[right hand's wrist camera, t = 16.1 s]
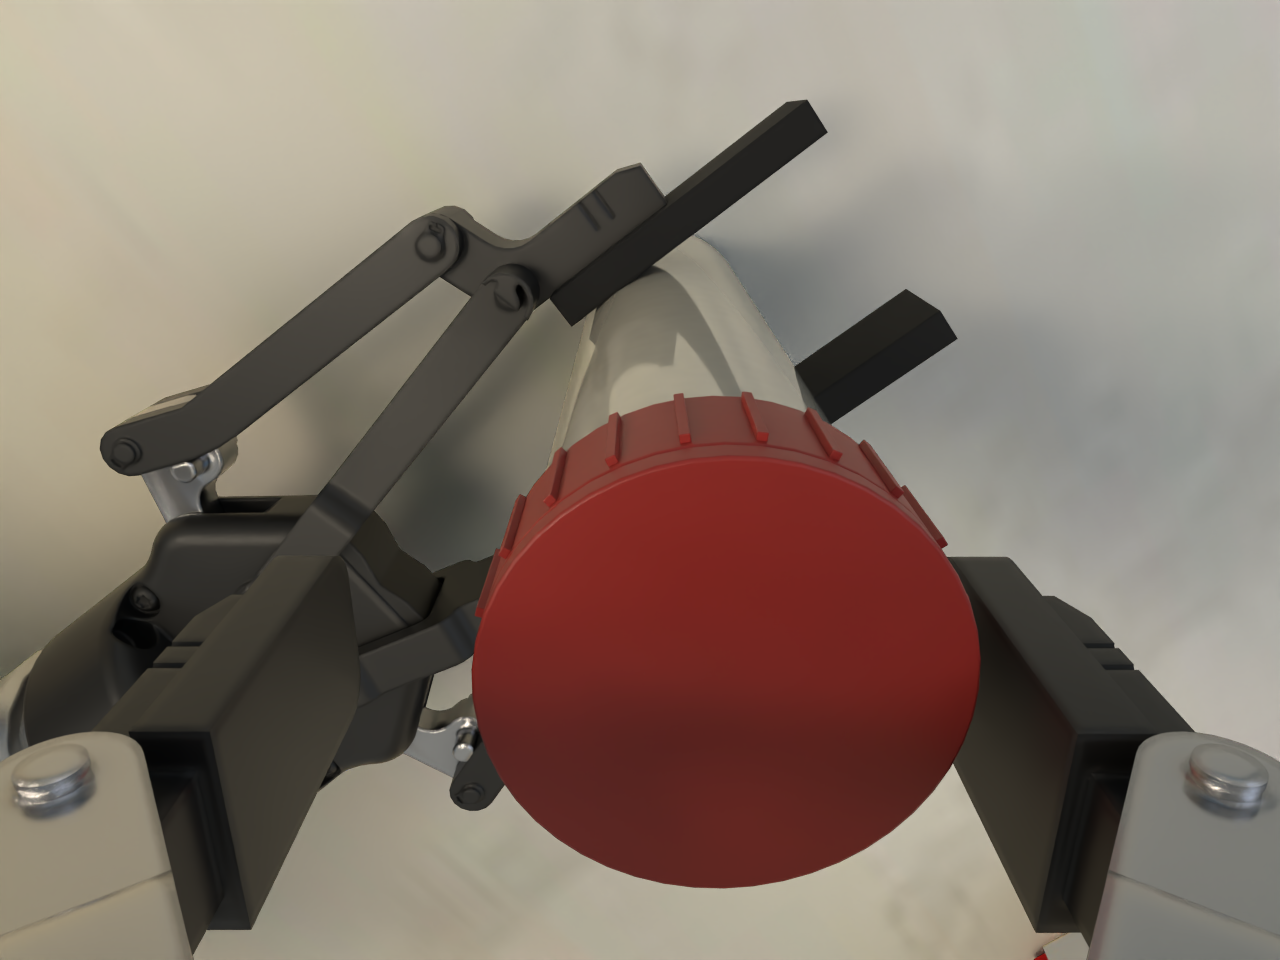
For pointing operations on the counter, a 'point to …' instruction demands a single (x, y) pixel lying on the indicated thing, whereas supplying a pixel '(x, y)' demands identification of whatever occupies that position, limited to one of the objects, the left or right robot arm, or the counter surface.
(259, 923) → the counter surface
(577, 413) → the jar
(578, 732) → the lid
